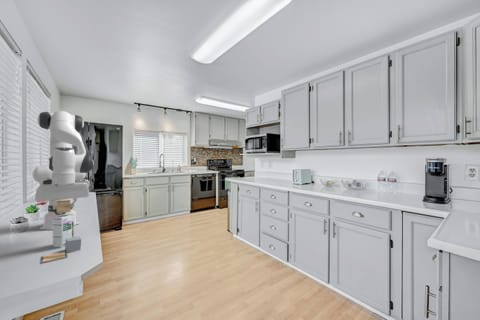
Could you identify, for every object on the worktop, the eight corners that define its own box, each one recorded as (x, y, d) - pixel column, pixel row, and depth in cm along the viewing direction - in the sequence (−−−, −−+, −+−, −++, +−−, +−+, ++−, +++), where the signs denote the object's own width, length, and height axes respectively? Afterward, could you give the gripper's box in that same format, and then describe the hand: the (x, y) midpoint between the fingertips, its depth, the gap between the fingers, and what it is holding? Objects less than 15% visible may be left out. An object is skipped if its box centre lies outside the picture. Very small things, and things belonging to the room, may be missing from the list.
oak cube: (56, 211, 103) (57, 201, 103) (69, 209, 106) (70, 200, 106) (56, 213, 99) (56, 202, 99) (70, 211, 102) (70, 201, 102)
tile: (41, 257, 89) (41, 255, 89) (66, 251, 95) (66, 250, 95) (39, 264, 83) (39, 263, 83) (67, 258, 88) (67, 256, 88)
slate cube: (65, 249, 96) (65, 238, 97) (78, 246, 100) (79, 236, 100) (66, 252, 93) (67, 241, 93) (80, 250, 96) (81, 239, 97)
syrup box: (62, 248, 99) (62, 217, 99) (52, 247, 100) (52, 216, 100) (73, 243, 104) (74, 214, 104) (64, 242, 105) (64, 213, 106)
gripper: (89, 178, 112) (88, 204, 112) (36, 180, 98) (35, 210, 98) (90, 179, 107) (90, 206, 107) (34, 181, 94) (34, 212, 93)
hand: (63, 208), depth 102 cm, fingers closed on oak cube, 5 cm apart
